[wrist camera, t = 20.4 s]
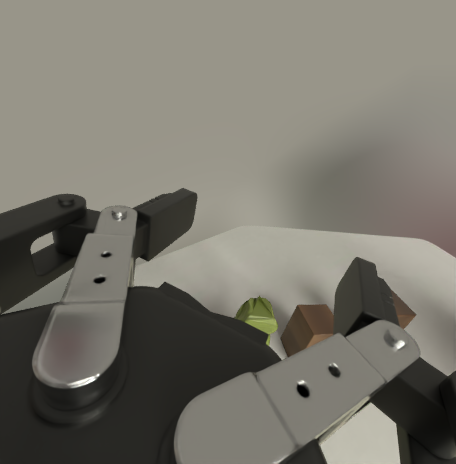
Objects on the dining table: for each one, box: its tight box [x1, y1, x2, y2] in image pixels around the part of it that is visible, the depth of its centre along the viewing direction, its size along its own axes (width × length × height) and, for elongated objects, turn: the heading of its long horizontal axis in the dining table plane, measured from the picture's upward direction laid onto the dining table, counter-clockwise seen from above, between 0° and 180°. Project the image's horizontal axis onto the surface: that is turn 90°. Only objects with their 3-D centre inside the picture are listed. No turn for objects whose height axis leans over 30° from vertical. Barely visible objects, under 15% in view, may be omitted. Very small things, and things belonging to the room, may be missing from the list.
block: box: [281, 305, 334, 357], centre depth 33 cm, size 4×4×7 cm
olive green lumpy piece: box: [234, 296, 278, 346], centre depth 30 cm, size 6×5×10 cm
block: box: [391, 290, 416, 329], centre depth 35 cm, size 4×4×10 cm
